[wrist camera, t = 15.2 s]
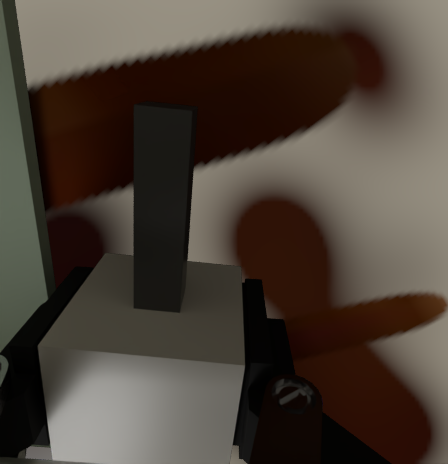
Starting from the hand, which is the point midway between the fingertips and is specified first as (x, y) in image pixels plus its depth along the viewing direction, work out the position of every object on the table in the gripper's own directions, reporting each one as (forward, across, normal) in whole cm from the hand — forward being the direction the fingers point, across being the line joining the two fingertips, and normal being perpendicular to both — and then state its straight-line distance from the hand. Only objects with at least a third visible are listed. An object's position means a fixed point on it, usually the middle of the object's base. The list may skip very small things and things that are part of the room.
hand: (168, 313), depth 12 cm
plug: (+1, 0, +4) cm, 4 cm away
